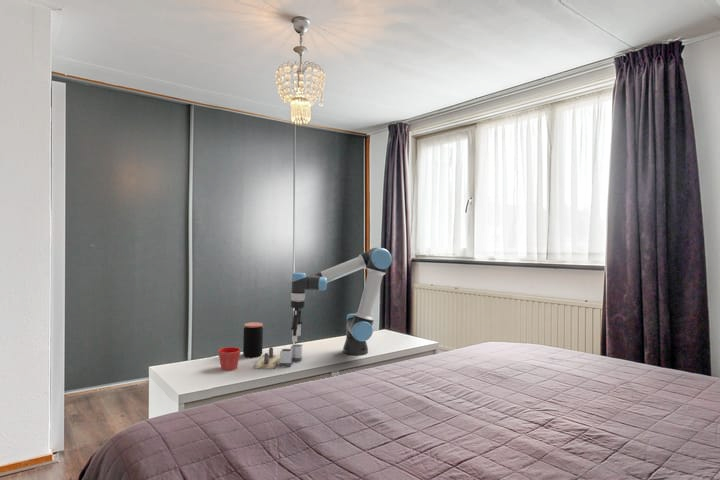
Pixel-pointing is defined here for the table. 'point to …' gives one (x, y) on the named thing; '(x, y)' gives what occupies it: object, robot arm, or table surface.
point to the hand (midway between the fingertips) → (296, 338)
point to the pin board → (271, 362)
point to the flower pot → (229, 358)
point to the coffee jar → (253, 339)
